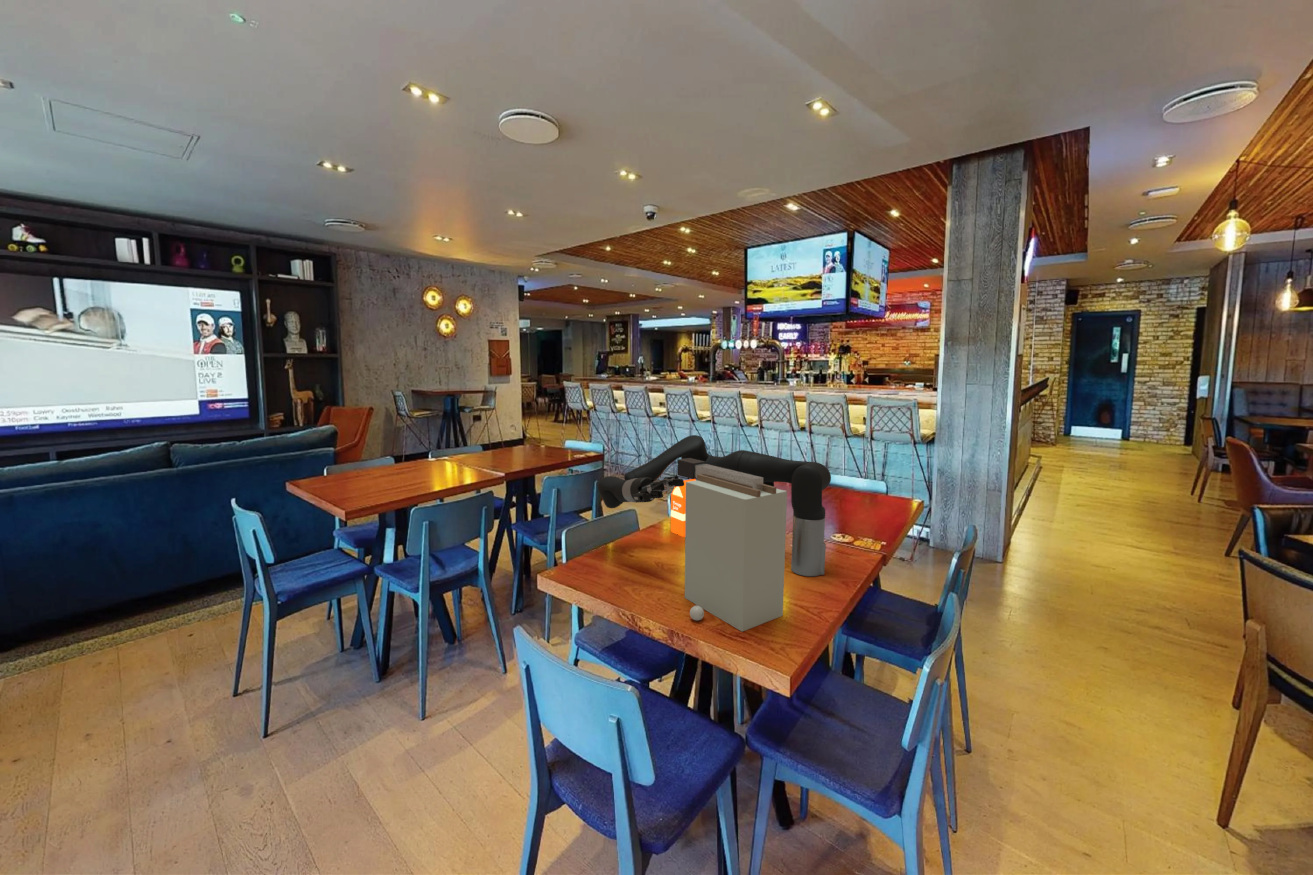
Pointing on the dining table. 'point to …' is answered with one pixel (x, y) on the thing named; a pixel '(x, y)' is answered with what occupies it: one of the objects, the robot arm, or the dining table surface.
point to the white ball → (696, 613)
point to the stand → (735, 550)
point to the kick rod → (717, 473)
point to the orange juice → (678, 509)
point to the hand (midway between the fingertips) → (672, 487)
